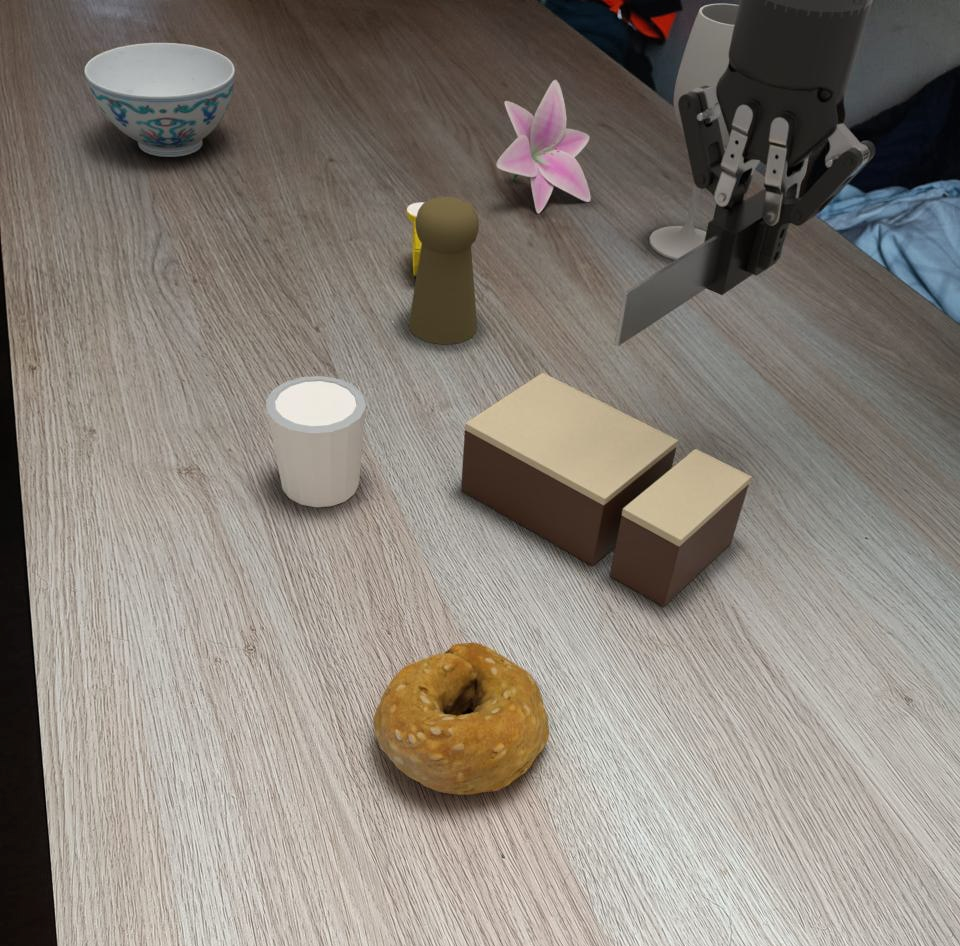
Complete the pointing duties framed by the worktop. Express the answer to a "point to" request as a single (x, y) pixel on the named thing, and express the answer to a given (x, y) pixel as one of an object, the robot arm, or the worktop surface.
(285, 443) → the cup of milk
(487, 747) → the bagel
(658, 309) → the knife
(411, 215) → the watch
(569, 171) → the lily
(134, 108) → the chinaware
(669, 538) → the cake slice
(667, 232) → the wineglass
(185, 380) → the worktop surface
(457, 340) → the chess pawn piece
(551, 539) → the cake loaf
